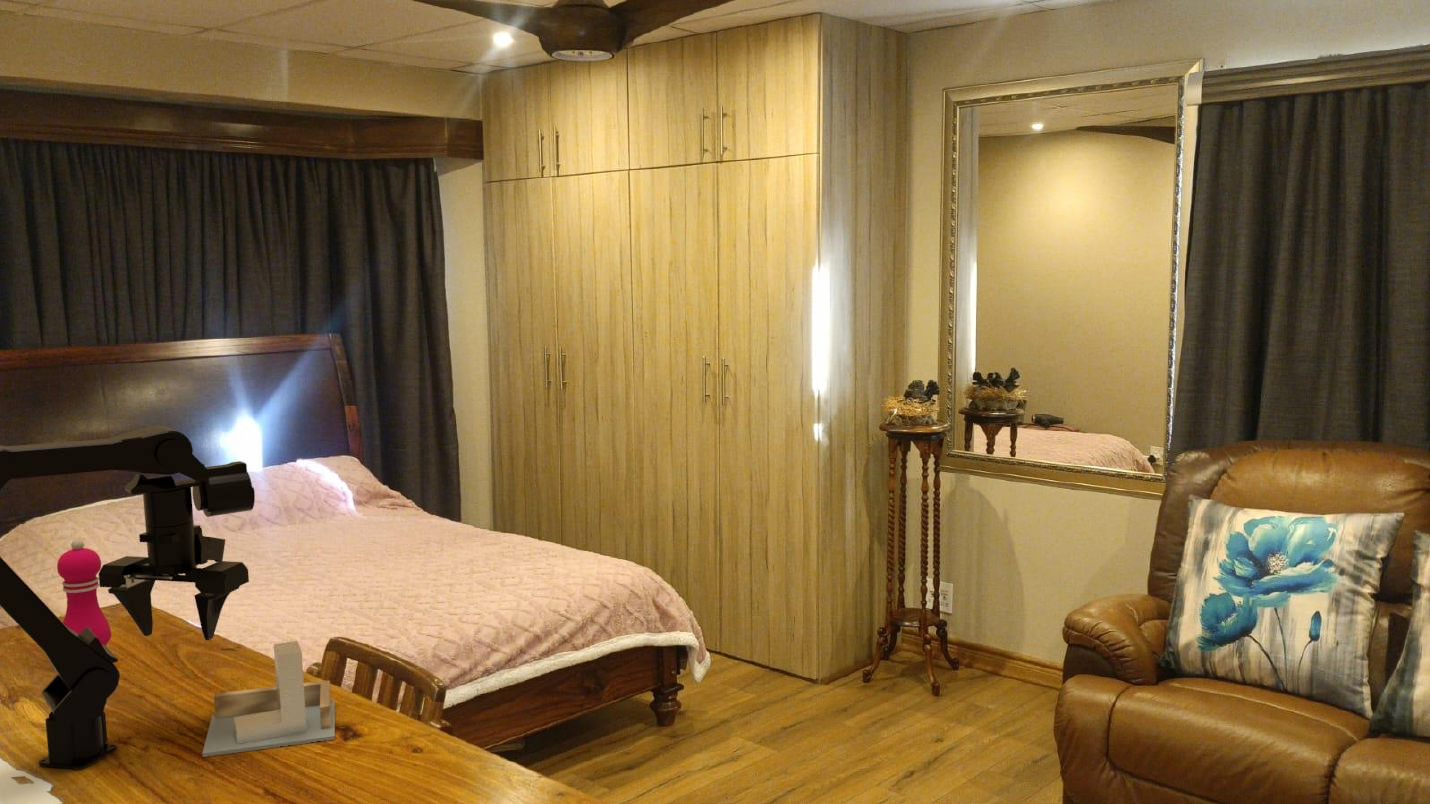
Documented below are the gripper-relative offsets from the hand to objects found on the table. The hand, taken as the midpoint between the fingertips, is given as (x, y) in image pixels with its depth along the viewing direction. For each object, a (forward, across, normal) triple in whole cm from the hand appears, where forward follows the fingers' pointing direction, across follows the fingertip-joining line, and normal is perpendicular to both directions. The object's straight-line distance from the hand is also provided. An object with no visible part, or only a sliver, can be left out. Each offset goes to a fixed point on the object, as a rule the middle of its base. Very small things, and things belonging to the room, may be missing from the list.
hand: (178, 637), depth 154 cm
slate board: (+13, -11, -3) cm, 17 cm away
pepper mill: (+13, +32, -20) cm, 40 cm away
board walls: (+13, -10, -4) cm, 17 cm away
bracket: (+13, -12, -1) cm, 17 cm away
